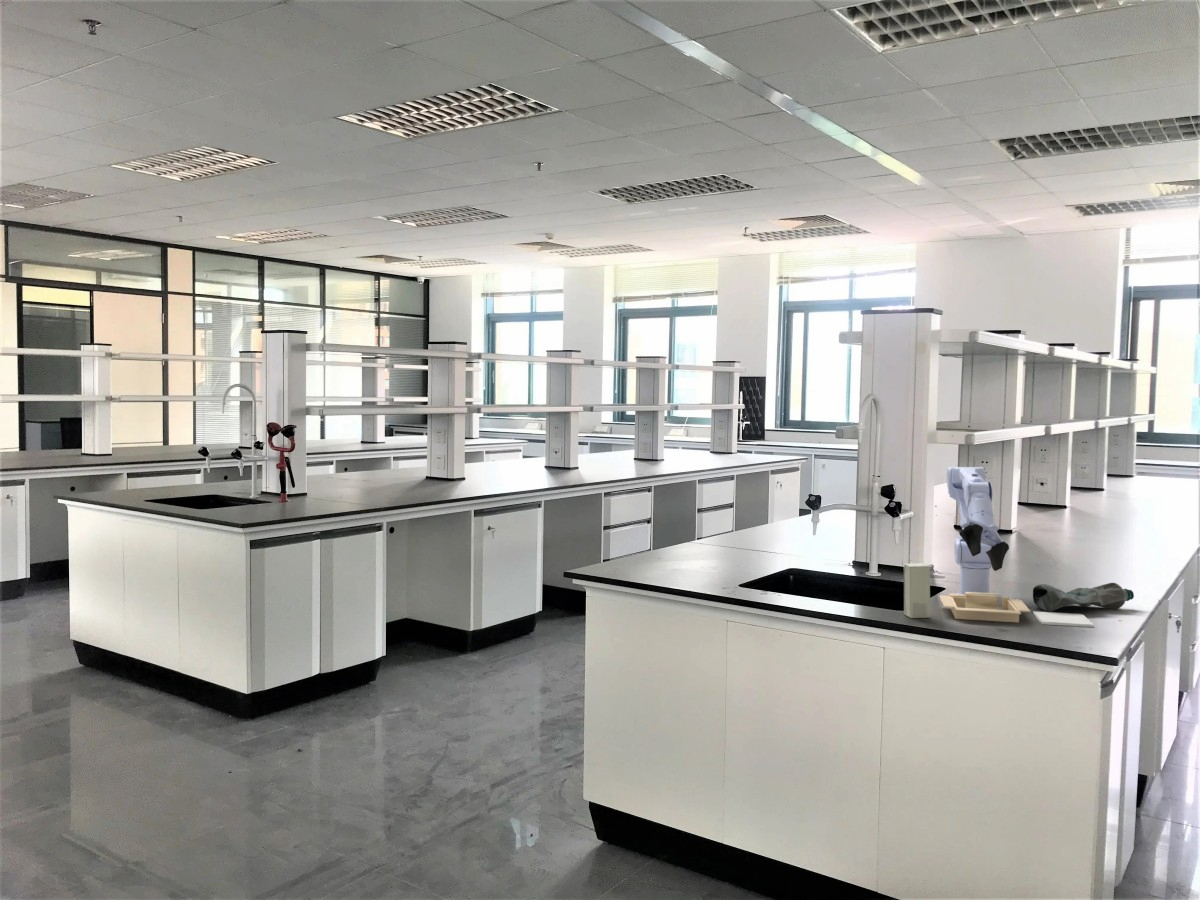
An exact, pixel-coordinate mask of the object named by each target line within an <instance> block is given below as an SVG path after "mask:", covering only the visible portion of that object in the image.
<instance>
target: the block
mask: <svg viewBox="0 0 1200 900" xmlns="http://www.w3.org/2000/svg"><path fill="white" fill-rule="evenodd" d="M964 608H977V609H995V610H1002V595H1001V593H999V592H997V593H995V592H989V593H980V592H965V607H964Z"/></svg>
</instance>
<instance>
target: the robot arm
mask: <svg viewBox="0 0 1200 900" xmlns="http://www.w3.org/2000/svg"><path fill="white" fill-rule="evenodd" d="M946 486H947V487H946V488H947V492H948V494H949V497H950V498H951V499H953V500H955V501H956V506H957V508H958V511H959V517H960V520H959V523H960V524H959V525H960V528H961V530H960V531H959V535H957V536H956V537H955V539H954V546H953V547H954V549H953V550H954V561H955V563H956V564H957V565H959V568H960V570H959V571H960V573H959V575H960V576H959V578H960V579H959V592H956V593H955V594H965V592H980V593H990V577H991V576H990V570H991V569H993V571H994V572H997V571H999V570H1001V569H1002V568H1003V565H1004V559H1005V556H1006V554H1007V553H1008V551H1009V549H1010V545H1009V543H1007V542H1005V541H1004V540H1003V539H1002V538H1001V536H1000V534H999V533H998V531H999V530H1000V528H999V526H998V525H997V524H995V519H994V518H995V517H994V512H993V506H992V505H993V504H992V501H993V496H994V495H993V494H994V493H993V492H994V491H993V485H992V482H991V481H986V471H985V468H984V467H983V466H978V467H977V466H976V467H975V466H952V465H951V466H948V467H947V469H946Z"/></svg>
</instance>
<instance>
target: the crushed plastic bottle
mask: <svg viewBox="0 0 1200 900" xmlns="http://www.w3.org/2000/svg"><path fill="white" fill-rule="evenodd" d="M1134 597H1135V594H1134V591H1133V590H1131V589H1128V588H1123V587H1122V586H1121V585H1120V584H1118V583H1116V582H1108V583H1106V584H1100V585H1098V586H1094V587H1091V588H1090V587H1077V588H1074V589H1072V590H1070V591H1067V592H1065V591H1063V590H1061V589H1058V588H1056V587H1054V586H1052V585H1050V584H1049V585H1048V584H1046V583H1040V584H1037V585H1034V587H1033V588H1032V599H1033V603H1034V604H1035V605H1036V606H1037V608H1039V610H1041V609H1042V610H1041V611H1045V612H1053V611H1056V610H1058V609H1060V608H1063V607H1067V606H1068V607H1069V606H1073V605H1078V606H1080V607H1081V608H1087V607H1088V608H1089V607H1091V606H1096V607H1100V608H1104V609H1111V610H1112V609H1113V610H1118V609H1120V608H1121V607H1123V606H1124V605H1125V604H1126V602H1129V601H1130V600H1131V601H1132V600H1133V599H1134Z"/></svg>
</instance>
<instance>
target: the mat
mask: <svg viewBox="0 0 1200 900" xmlns="http://www.w3.org/2000/svg"><path fill="white" fill-rule="evenodd" d="M1032 612H1033V615H1034V616H1035V618H1036V619H1037V620H1038V622H1039V623H1040V624H1041V625H1048V626H1049V625H1050V626H1052V625H1053V626H1064V627H1065V626H1068V627H1080V628H1081V627H1084V628H1094V627H1095V625H1094V623H1093V622H1091V620H1089V619H1088V618H1087V617H1086V616H1085V615H1084V614H1083V613H1069V612H1053V611H1050V612H1046V611H1034V610H1033V611H1032Z"/></svg>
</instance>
